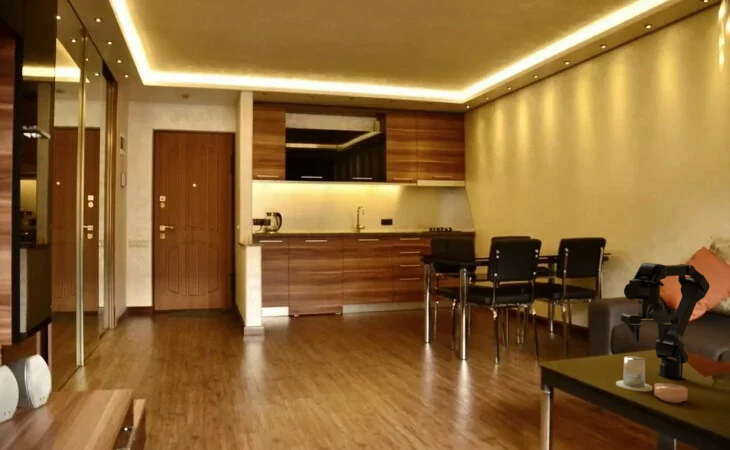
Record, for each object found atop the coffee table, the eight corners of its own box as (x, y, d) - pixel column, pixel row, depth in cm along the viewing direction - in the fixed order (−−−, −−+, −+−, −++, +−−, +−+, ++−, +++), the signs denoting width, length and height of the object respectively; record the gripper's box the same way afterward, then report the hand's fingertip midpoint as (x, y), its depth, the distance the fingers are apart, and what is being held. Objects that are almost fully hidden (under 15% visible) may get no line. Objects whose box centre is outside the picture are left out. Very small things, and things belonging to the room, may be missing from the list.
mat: (638, 381, 192) (638, 380, 192) (659, 391, 181) (659, 389, 181) (609, 381, 190) (609, 380, 190) (628, 391, 179) (628, 390, 179)
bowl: (673, 395, 177) (674, 382, 177) (694, 404, 168) (694, 391, 168) (647, 395, 176) (648, 382, 176) (666, 404, 167) (667, 391, 167)
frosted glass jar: (643, 383, 187) (643, 357, 187) (646, 388, 181) (647, 361, 181) (621, 381, 190) (622, 355, 189) (624, 386, 183) (625, 359, 183)
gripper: (640, 302, 184) (638, 348, 184) (691, 302, 187) (689, 348, 187) (620, 297, 195) (619, 341, 195) (668, 298, 198) (667, 341, 198)
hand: (649, 343), depth 193 cm, fingers open, 9 cm apart
